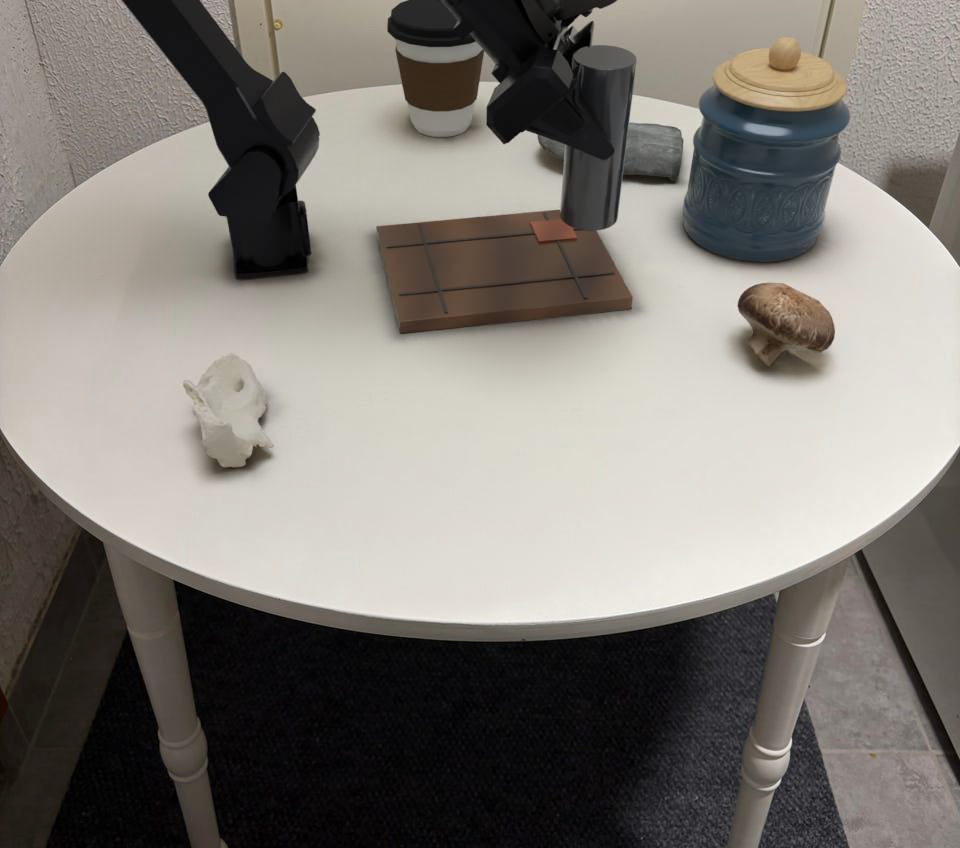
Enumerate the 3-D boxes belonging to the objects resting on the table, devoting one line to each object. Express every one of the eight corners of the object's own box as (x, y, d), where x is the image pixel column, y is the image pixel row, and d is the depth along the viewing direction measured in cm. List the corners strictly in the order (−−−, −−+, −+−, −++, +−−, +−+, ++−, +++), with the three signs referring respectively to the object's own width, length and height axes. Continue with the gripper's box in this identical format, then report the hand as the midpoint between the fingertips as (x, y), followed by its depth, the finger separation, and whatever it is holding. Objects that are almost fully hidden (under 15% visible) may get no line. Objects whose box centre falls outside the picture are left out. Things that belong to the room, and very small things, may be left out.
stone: (529, 171, 107) (673, 201, 107) (536, 136, 104) (684, 167, 104) (541, 116, 114) (675, 144, 114) (548, 81, 111) (686, 110, 111)
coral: (260, 379, 82) (252, 332, 79) (283, 463, 75) (275, 414, 72) (187, 392, 81) (176, 344, 78) (203, 478, 74) (192, 430, 71)
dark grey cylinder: (600, 236, 84) (618, 74, 75) (549, 220, 86) (560, 59, 77) (627, 212, 87) (647, 54, 78) (577, 197, 89) (591, 40, 80)
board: (400, 333, 87) (399, 319, 86) (376, 237, 98) (375, 224, 97) (631, 309, 90) (633, 295, 89) (583, 218, 101) (584, 205, 100)
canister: (694, 266, 95) (727, 69, 82) (669, 197, 104) (696, 11, 92) (835, 264, 95) (889, 68, 83) (798, 195, 104) (842, 10, 92)
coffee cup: (403, 101, 120) (398, -10, 112) (497, 108, 119) (499, -3, 111) (382, 143, 112) (374, 27, 104) (482, 151, 111) (483, 34, 103)
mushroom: (747, 355, 79) (786, 278, 78) (700, 334, 86) (736, 264, 85) (826, 393, 82) (866, 319, 81) (775, 370, 89) (811, 302, 88)
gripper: (542, -63, 64) (694, 128, 71) (576, -137, 78) (701, 30, 84) (420, 56, 71) (569, 222, 77) (471, -31, 84) (594, 116, 90)
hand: (613, 141), depth 82 cm, fingers closed on dark grey cylinder, 5 cm apart
